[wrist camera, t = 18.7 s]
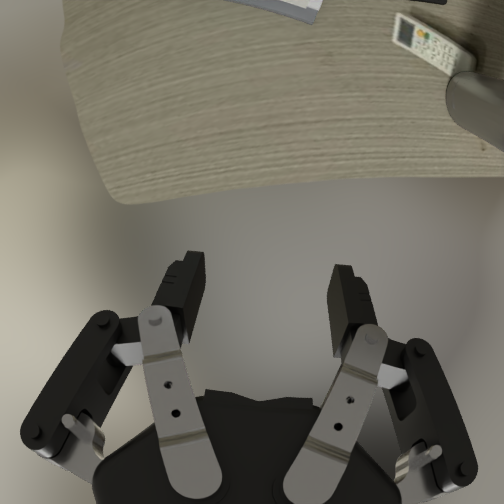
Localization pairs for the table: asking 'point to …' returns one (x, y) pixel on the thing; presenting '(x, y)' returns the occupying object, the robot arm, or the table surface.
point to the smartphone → (433, 1)
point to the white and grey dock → (287, 8)
